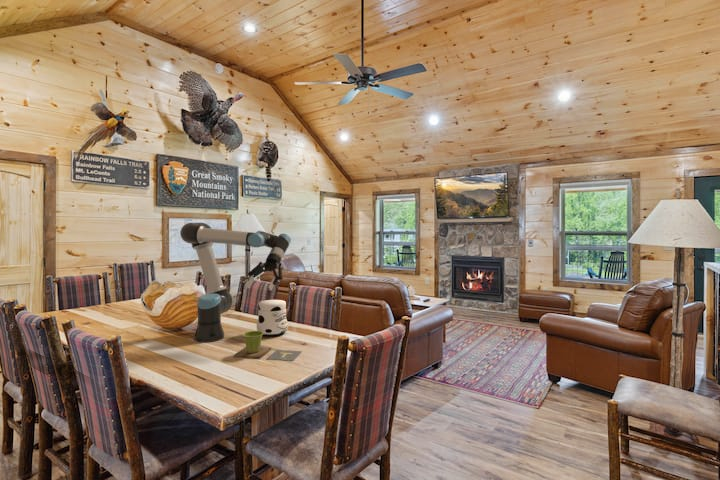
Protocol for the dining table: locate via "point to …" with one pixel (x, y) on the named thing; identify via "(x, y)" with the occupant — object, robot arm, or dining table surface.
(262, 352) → the walnut board
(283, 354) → the slate mat
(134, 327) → the dining table surface
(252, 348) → the plant pot
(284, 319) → the milk container
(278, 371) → the dining table surface
